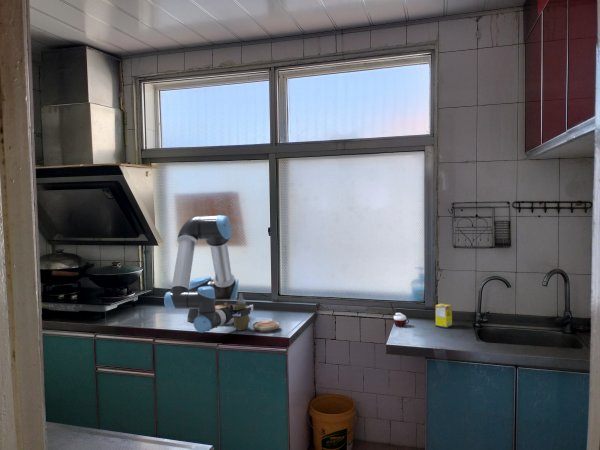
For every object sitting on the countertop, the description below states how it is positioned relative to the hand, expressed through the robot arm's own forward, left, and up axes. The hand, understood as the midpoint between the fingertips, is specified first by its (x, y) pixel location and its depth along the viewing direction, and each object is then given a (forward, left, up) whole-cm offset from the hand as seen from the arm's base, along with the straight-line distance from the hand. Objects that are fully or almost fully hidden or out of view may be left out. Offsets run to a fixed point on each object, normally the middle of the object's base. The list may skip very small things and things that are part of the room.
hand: (246, 306), depth 232 cm
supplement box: (+92, +38, -11) cm, 100 cm away
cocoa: (+71, +31, -11) cm, 78 cm away
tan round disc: (+12, -1, -10) cm, 16 cm away
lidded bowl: (-15, +3, -11) cm, 19 cm away
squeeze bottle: (0, -5, -10) cm, 11 cm away
